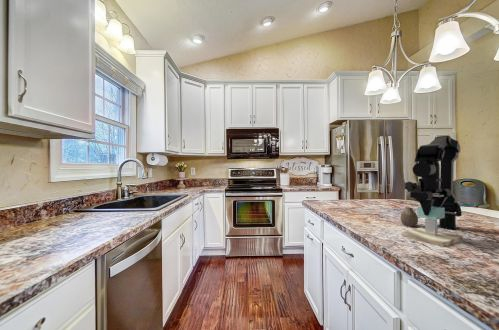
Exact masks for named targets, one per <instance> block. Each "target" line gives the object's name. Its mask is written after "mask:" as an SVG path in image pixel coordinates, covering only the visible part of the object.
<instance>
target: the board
mask: <svg viewBox="0 0 499 330" xmlns="http://www.w3.org/2000/svg"><path fill="white" fill-rule="evenodd" d="M401 237H405V238H409V239H413V240H416V241H420V242H424V243H427V244H432V245H436V246H438V247H443V248H444V247H447V246H450V245H452V244H456V243H458V242H462V241H464V238H463V237H464V236H463V235H459V234H454V233H450V232H445V231H440V230H437V235H436V236H435V235H430V234H426V233H425V227H423V226H422V227H417V228H414V229H409V230H405V231H401Z"/></svg>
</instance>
